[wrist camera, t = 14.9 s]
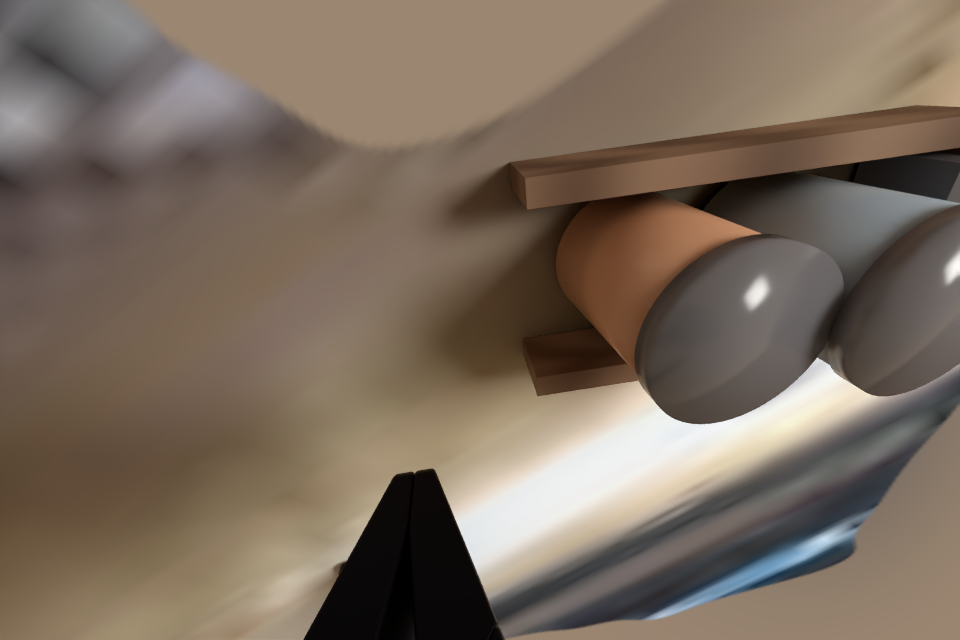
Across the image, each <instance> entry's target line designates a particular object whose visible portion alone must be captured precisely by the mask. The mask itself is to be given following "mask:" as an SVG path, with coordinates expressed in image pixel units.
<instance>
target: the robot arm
mask: <svg viewBox="0 0 960 640" xmlns="http://www.w3.org/2000/svg"><path fill="white" fill-rule="evenodd" d="M303 640H505V639H504V636H503V634H502V631H501V629H500V628H499V627H498V622H497V620H496V617H495V615H494V613H493V610H492V608H491V605H490V603H489V600H488V598H487V596H486V593H485V591H484V588H483V586H482V583H481V581H480V579H479V576H478V574H477V571H476V569H475V566H474V564H473V561H472V559H471V557H470V554H469V552H468V549H467V547H466V544H465V542H464V540H463V537H462V535H461V532H460V530H459V527H458V525H457V523H456V520H455V518H454V515H453V513H452V510H451V508H450V505H449V503H448V501H447V498H446V496H445V493H444V491H443V488H442V486H441V484H440V481H439V479H438V476H437V474H436V472H435V470H434V469H426V470H419V471H417V472H416V473H414V472H407V473H401V474H397V475H395V476H394V477H393V479H392V481H391V482H390V484H389V486H388V488H387V490H386V491H385V493H384V495H383V497H382V499H381V500H380V502H379V504H378V506H377V508H376V509H375V511H374V513H373V515H372V517H371V518H370V520H369V522H368V524H367V526H366V527H365V529H364V531H363V533H362V535H361V536H360V538H359V540H358V542H357V544H356V546H355V547H354V549H353V551H352V553H351V555H350V556H349V558H348V560H347V562H346V564H343V565H341V566H340V569H339V576H338V578H337V580H336V582H335V583H334V585H333V587H332V589H331V591H330V592H329V594H328V596H327V598H326V600H325V601H324V603H323V605H322V607H321V609H320V611H319V612H318V614H317V616H316V618H315V620H314V621H313V623H312V625H311V627H310V629H309V630H308V632H307V634H306V636H305V638H304V639H303Z"/></svg>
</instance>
